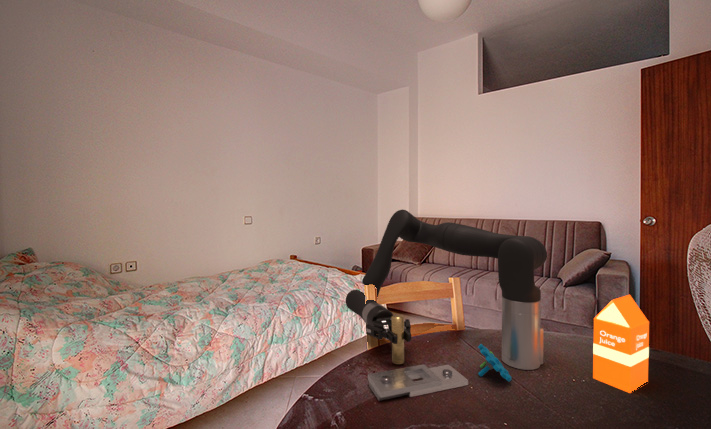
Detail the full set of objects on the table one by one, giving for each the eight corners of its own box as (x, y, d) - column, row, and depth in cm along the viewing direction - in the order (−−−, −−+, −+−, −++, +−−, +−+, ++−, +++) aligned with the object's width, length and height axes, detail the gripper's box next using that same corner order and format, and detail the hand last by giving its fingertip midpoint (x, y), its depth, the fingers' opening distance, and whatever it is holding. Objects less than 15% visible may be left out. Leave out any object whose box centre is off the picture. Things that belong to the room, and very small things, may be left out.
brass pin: (401, 357, 92) (400, 313, 92) (406, 363, 89) (405, 317, 89) (390, 359, 91) (389, 315, 91) (395, 365, 88) (394, 319, 88)
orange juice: (648, 382, 80) (650, 298, 79) (630, 393, 75) (632, 304, 75) (610, 368, 86) (611, 290, 86) (591, 377, 82) (593, 295, 81)
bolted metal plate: (448, 369, 87) (448, 357, 87) (468, 385, 80) (468, 372, 80) (367, 384, 81) (367, 371, 80) (380, 403, 73) (380, 389, 73)
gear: (517, 384, 77) (483, 348, 79) (497, 400, 78) (464, 364, 80) (510, 368, 87) (480, 336, 90) (492, 382, 88) (463, 351, 91)
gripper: (355, 308, 101) (377, 328, 85) (398, 303, 106) (427, 321, 89) (356, 333, 102) (377, 358, 85) (399, 326, 106) (427, 349, 90)
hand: (402, 339), depth 87 cm, fingers closed on brass pin, 3 cm apart
